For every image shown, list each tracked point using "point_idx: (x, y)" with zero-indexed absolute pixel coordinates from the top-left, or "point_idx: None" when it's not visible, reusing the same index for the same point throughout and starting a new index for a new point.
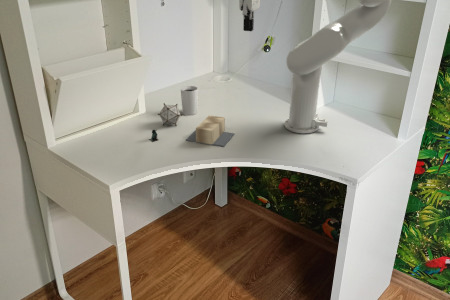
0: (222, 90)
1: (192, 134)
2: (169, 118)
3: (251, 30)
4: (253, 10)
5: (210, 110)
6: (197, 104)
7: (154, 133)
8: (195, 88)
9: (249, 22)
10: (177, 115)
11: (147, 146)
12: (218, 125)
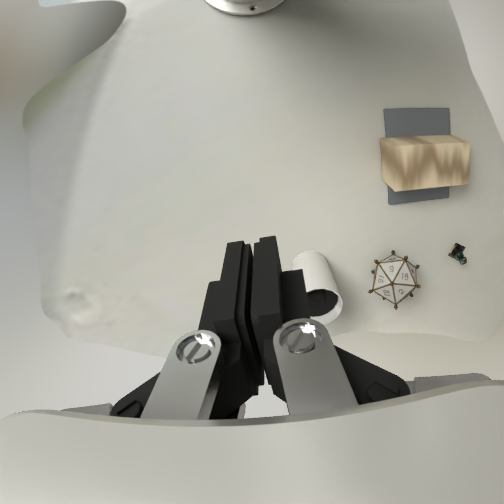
0: (133, 275)
1: (424, 197)
2: (414, 268)
3: (274, 242)
4: (491, 383)
5: (271, 233)
6: (301, 265)
7: (463, 256)
8: None
9: (308, 310)
10: (405, 260)
11: (479, 244)
12: (435, 143)
